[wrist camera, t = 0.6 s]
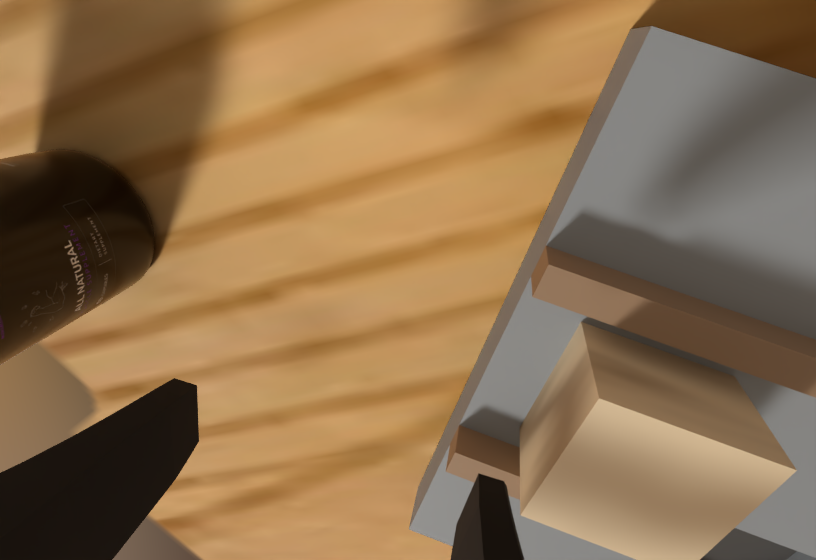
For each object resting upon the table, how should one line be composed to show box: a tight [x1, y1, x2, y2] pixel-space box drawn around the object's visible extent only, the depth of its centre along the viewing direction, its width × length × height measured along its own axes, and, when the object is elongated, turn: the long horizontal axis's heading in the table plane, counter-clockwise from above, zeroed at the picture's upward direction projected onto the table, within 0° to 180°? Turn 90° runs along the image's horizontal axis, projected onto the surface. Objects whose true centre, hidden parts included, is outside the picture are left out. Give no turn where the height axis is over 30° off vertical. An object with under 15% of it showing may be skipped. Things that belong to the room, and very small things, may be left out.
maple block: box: [519, 322, 797, 560], centre depth 15 cm, size 6×6×4 cm
